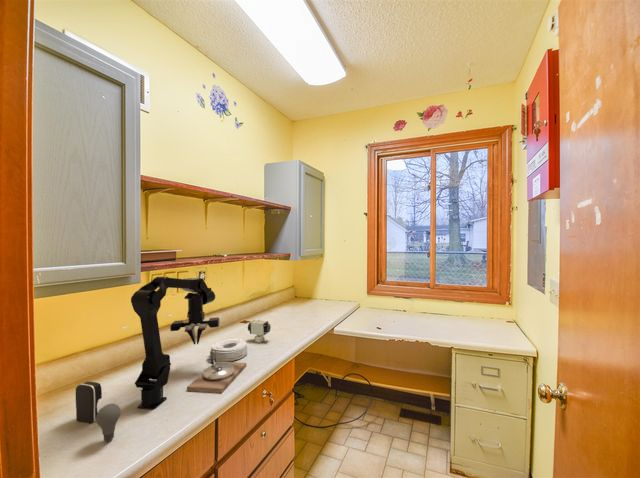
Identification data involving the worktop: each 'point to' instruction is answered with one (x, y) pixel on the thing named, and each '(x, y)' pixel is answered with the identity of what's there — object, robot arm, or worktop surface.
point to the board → (218, 385)
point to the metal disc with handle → (217, 369)
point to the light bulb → (108, 420)
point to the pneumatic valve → (259, 329)
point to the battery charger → (87, 401)
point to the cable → (229, 350)
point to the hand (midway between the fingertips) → (196, 344)
